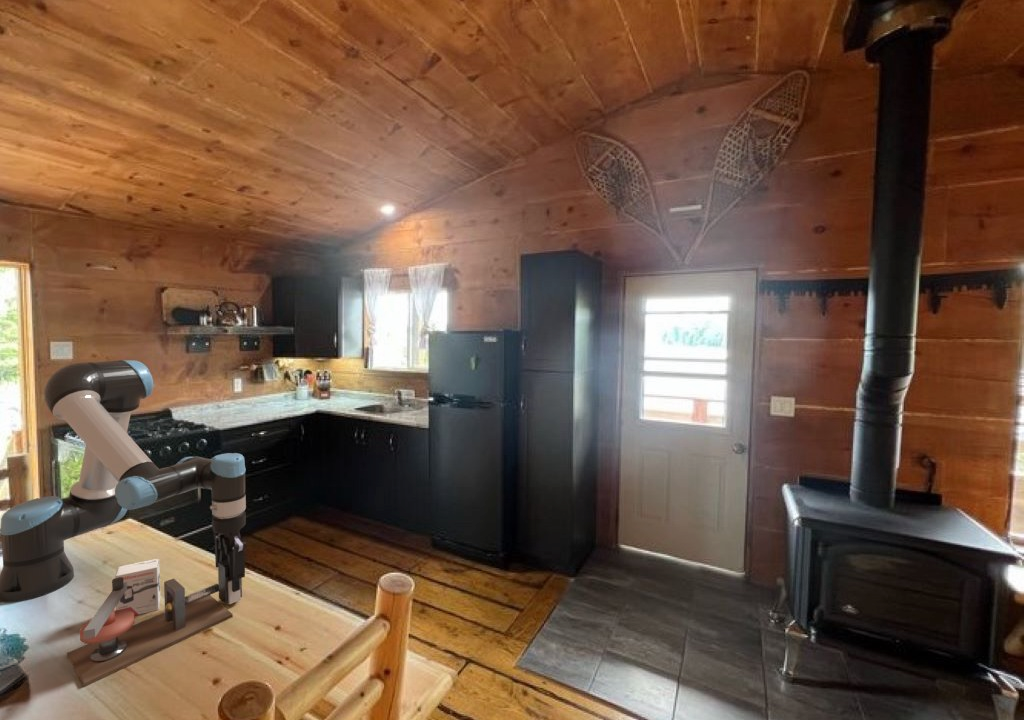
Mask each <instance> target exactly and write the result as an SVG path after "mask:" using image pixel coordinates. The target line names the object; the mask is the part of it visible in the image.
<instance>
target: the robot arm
mask: <svg viewBox="0 0 1024 720" xmlns="http://www.w3.org/2000/svg"><path fill="white" fill-rule="evenodd" d="M153 379H154V378H153V376H152V374H151V371H150V369H149V368H148V367H147V366H146V365H145V364H144V363H142V362H141V361H139V360H136V359H135V360H134V359H132V360H131V359H130V360H127V359H126V360H125V359H119V360H110V361H109V360H106V361H104V360H103V361H91V362H75V363H70V364H66V365H65V366H62V367H60V368H59V369H57V370H55V372H54V373H53V374H51V376H50V377H49V378H48V380H47V382H46V384H45V386H44V392H43V395H44V396H43V397H44V402H45V404H46V407H47V409H48V410H49V411H50V413H51V414H52V415H53V417H55V418H57V419H58V420H62V421H65V422H66V423H67V424H68V426H70V428H72V430H73V432H75V433H76V435H77V436H78V437H79V438H80V439H81V440H82V441H83V442H84V444H85V447H84V453H83V457H82V463H81V468H80V474H79V479H78V481H77V482H75V483H73V484H72V485H71V487H70V489H69V494H68V496H66V497H64V498H63V497H62V498H61V497H60V496H57V495H56V496H55V495H49V496H48V495H47V496H43V497H41V498H39V497H37V498H34V499H30V500H27V501H24V502H21V503H19V504H16V505H14V506H12V507H10V508H9V509H8V510H5V512H4V513H3V515H1V518H0V538H1V539H0V540H1V550H2V551H1V553H2V569H1V572H0V603H1V602H3V603H12V602H20V601H21V602H22V601H27V600H31V599H34V598H39V597H40V596H44V595H47V594H49V593H52V592H55V591H56V590H59V589H61V588H63V587H64V586H66V585H67V584H69V583H70V582H71V581H72V580H73V579H74V577H75V573H74V572H75V571H74V570H75V569H74V566H73V565H72V563H71V561H70V560H69V557H68V556H67V554H66V553H65V541H66V540H68V539H72V538H75V537H77V536H80V535H83V534H86V533H89V532H91V531H94V530H97V529H100V528H105V527H107V526H110V525H111V524H114V523H116V522H118V521H119V520H121V519H122V518H124V516H125V515H126V513H127V512H128V510H129V511H130V510H135V509H140V508H144V507H147V506H151V505H153V504H154V503H158V502H161V501H163V500H167V499H169V498H171V497H175V496H178V495H181V494H184V493H187V492H190V491H193V490H196V489H204V490H211V505H210V506H209V509H210V510H211V512H212V513H211V515H212V518H211V525H212V526H211V527H212V528H211V529H212V531H213V537H214V539H213V540H214V556H215V558H214V559H215V568H217V569H218V562H220V561H223V560H226V559H228V566H229V576H230V578H229V579H227V582H228V603H227V604H228V605H232V604H233V603H236V602H239V601H240V600H241V599H242V597H241V591H240V578H242V579H243V578H245V576H246V547H247V543H246V541H243V542H242V541H241V540H242V537H241V533H240V531H241V529H243V528H244V527H245V526H246V524H247V523H246V522H247V519H246V518H247V517H246V513H247V512H246V511H245V510H246V508H247V505H246V504H247V501H246V470H247V469H246V465H245V464H246V463H245V462H246V461H245V456H243V454H241V453H237V452H234V453H231V452H227V453H221V454H217V455H215V456H213V457H212V458H205V457H202V456H185V457H183V458H181V459H180V460H179V461H177V463H176V464H173V465H170V466H166V467H162V468H159V467H158V466H157V465H156V464H155V463H154V462H153V461H152V460H151V458H149V456H147V454H146V453H145V452H144V451H143V450H142V448H140V446H139V445H138V444H137V443H136V442H135V441H134V440H133V438H132V437H131V436H130V435H129V434H128V428H129V424H130V418H131V415H132V413H134V412H135V411H136V410H138V409H139V407H140V403H141V399H146V398H148V397H150V396H151V394H152V393H153V392H154V391H153V390H154V380H153Z"/></svg>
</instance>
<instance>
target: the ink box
mask: <svg viewBox="0 0 1024 720" xmlns="http://www.w3.org/2000/svg"><path fill="white" fill-rule="evenodd" d="M160 574H161V570H160V559H159V558H153V559H148V560H145V561H138V562H135V563H130V564H129V563H128V564H125V565H121V566H118V567H117V569H116V572H115V576H114V579H115V578H118V577H123V580H124V582H127V590H126V592H125V593H124V595H123V596H122V598H121V599H120V601H119V602H118V604H117V605H116V607H115V611H117V610H130V611H132V612H133V613H134V617H135V616H139V615H143V614H146V613H150V612H155V611H159V610H160V604H161V575H160Z"/></svg>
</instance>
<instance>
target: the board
mask: <svg viewBox="0 0 1024 720" xmlns="http://www.w3.org/2000/svg"><path fill="white" fill-rule="evenodd" d="M233 616H234V614H233V612H231V611H230V610H228V609H227V608H226V607H225V606H224V605H222V604H221V603H220V602H219V601H218V600H217V599H215V598H214V597H213V596H212V594H211V595H208V596H206V597H204V598H201V599H199V600H197V601H194V602H192V603H189V604H187V605H185V620H186V627H184V628H182V629H180V630H178V631H175V630H174V629H173V620H172V621H170V622H167V621H166V620H165V611H164V612H161V613H160V614H158V615H154V616H152V617H150V618H148V619H147V618H146V619H145V620H142V621H140V622H137V623H134V624H133V626H132V627H131V628H130V629H129V630H128V631H126V632H125V633H123V634H121V635H120V636H118V641H125V642H126V644H127V647H126V650H125V651H124V652H123V653H122V654H120V655H119V656H117V657H115V658H113V659H111V660H108V661H104V662H98V663H97V662H92V661H91V659H90V656H91V653H92V652H93V651H94V650H95V649H97V648H98V647H99V643H93V644H87V643H86V644H84V645H83V646H80V647H78V648H75V649H73V650H70V651H68V652H66V657H67V659H68V661H69V662H70V663H71V666H72V668H73V669H74V671H75V673H76V675H77V676H78V678H79V680H80V682H81V683H82V685H83V687H86V686H89V685H91V684H94V683H95V682H97V681H100V680H102V679H104V678H106V677H108V676H110V675H113V674H115V673H116V672H118V671H121V670H123V669H125V668H127V667H129V666H131V665H134V664H136V663H138V662H140V661H142V660H144V659H146V658H148V657H151V656H153V655H155V654H157V653H159V652H161V651H163V650H166V649H167V648H170V647H172V646H174V645H176V644H178V643H180V642H182V641H185V640H187V639H189V638H190V637H191V638H192V637H193V636H196V635H197V634H200V633H201V631H202V632H204V631H206V630H208V629H210V628H212V627H214V626H217V625H219V624H221V623H223V622H225V621H227V620H229V619H231V618H233ZM114 672H115V673H114Z"/></svg>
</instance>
